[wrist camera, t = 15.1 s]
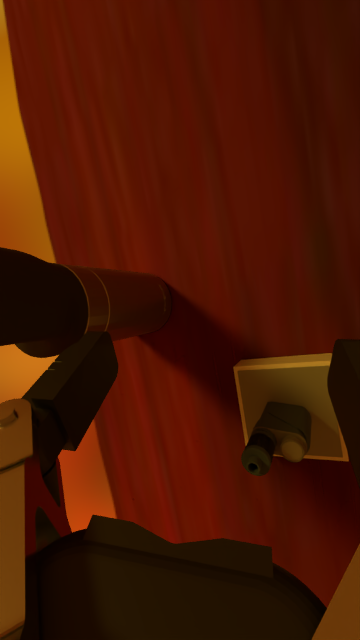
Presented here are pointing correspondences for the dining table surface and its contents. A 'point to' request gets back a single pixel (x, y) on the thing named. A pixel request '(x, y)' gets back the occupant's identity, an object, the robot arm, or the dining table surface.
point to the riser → (292, 397)
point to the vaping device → (277, 437)
